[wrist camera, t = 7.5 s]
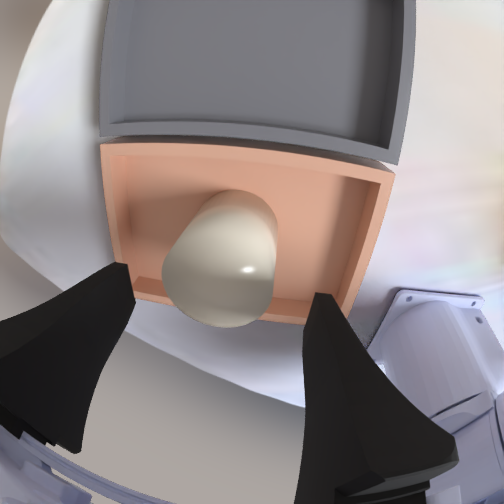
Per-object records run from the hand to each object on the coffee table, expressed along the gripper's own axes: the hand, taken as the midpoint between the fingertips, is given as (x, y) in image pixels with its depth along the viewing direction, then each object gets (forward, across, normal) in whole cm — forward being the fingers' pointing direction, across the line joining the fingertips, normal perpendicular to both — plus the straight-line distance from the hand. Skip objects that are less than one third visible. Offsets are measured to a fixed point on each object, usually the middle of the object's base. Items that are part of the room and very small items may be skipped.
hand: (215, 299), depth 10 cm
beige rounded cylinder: (+6, 0, 0) cm, 6 cm away
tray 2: (+6, 0, 0) cm, 7 cm away
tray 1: (+6, 0, -10) cm, 12 cm away
